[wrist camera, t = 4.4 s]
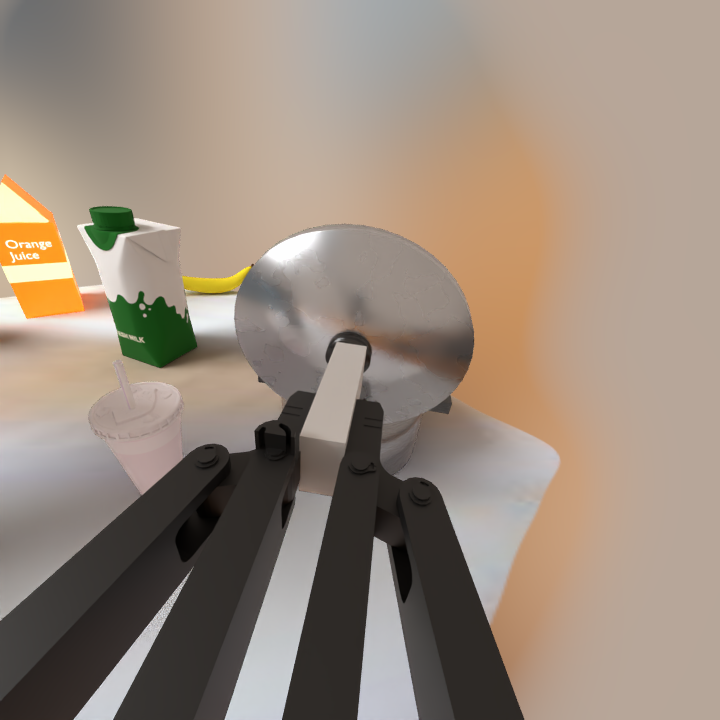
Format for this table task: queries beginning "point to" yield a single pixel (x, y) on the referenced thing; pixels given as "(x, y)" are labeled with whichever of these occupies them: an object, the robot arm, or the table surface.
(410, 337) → the lid
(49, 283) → the orange juice
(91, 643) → the robot arm
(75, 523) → the table surface
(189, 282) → the banana
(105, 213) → the milk carton
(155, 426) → the smoothie
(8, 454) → the table surface
